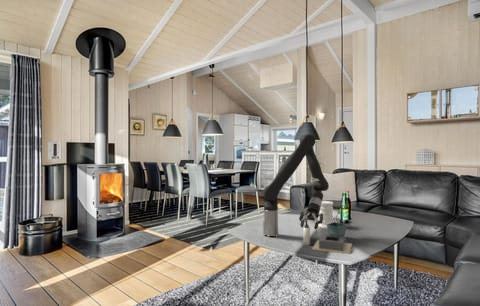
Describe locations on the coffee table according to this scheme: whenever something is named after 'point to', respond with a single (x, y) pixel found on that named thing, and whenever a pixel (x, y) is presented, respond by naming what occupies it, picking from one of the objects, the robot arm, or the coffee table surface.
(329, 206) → the decorative container
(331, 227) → the flower pot
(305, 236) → the plug
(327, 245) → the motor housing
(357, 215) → the coffee table surface
